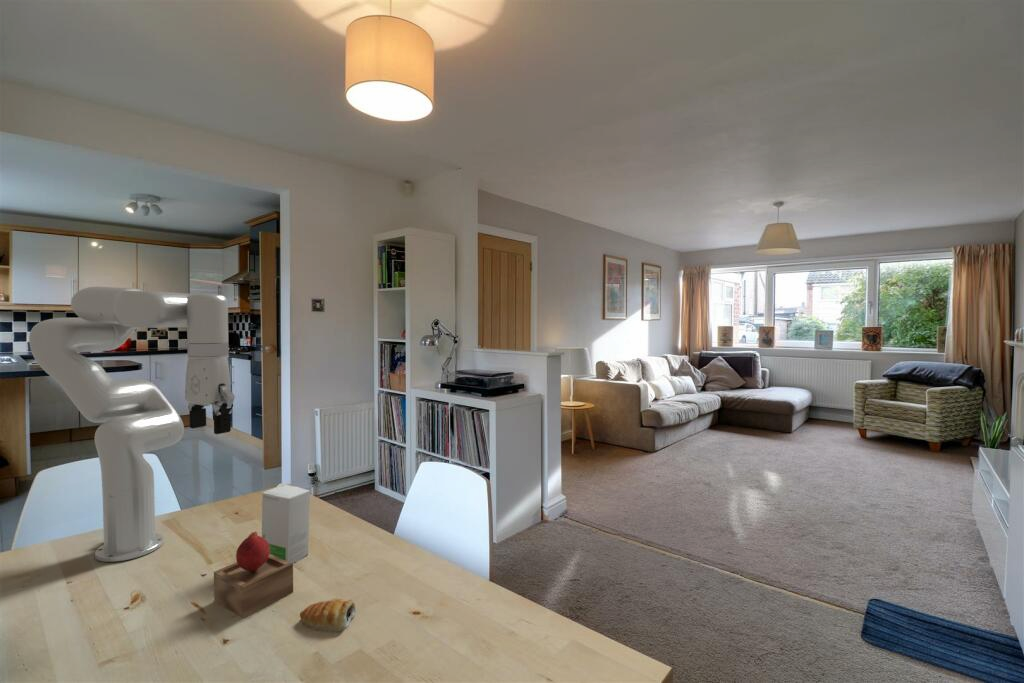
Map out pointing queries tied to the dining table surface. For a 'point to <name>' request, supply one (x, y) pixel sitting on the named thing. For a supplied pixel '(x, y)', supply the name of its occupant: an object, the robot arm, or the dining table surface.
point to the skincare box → (286, 522)
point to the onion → (252, 552)
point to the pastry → (329, 615)
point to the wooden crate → (253, 586)
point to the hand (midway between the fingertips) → (209, 429)
